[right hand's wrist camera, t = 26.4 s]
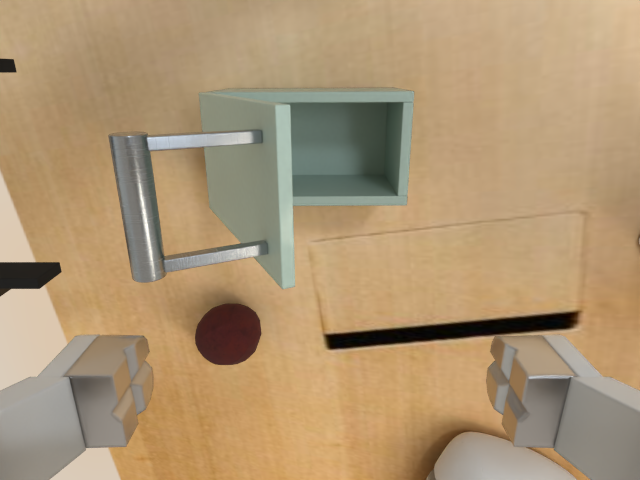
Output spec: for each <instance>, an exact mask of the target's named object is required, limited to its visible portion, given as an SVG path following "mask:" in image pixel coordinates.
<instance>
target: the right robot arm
mask: <svg viewBox="0 0 640 480" xmlns="http://www.w3.org/2000/svg"><path fill="white" fill-rule="evenodd" d="M639 244H640V238H639ZM149 352H150V351H149V346H148V341H147V339H146V338H145V337H144V336H133V335H79V336H75V337H74V338H73V339H72V340H71V341H70V343H69V344H68V345H67V346H66V347H65V348H64V349H63V350H62V351H61V352H60V353H59V354H58V355H57V356H56V357H55V358H54V360H52V362H51V363H50V364H49V365H48V366H47V367H46V368H45V369H44V370H43V371H42V372H41V373H40V374H39V375H38V376H37V377H29V378H26V379H24V380H22V381H20V382H18V383H16V384H14V385H11V386H9V387H7V388H5V389H3V390H1V391H0V480H49V479H51V478H52V477H53V476H54V475H56V474H57V473H58V472H59V471H61V470H62V469H63V468H64V467H66V466H67V465H68V464H69V463H71V462H72V461H73V460H74V459H75V458H77V457H78V456H79V455H80V454H82V453H83V452H84V451H85V450H86V448H101V447H126V446H127V444H128V442H129V440H130V438H131V437H132V435H133V433H134V431H135V429H136V427H137V425H138V419H137V415H138V414H139V413H141V412H142V411H144V410H145V409H146V408H147V406H148V404H149V402H150V400H151V395H152V391H153V370H152V367H151V366H150V365H149V364H148V363H147V362H146V361H145V359H146V357H147V355H148V354H149ZM490 352H491V354H492V355H493V357H494V359H495V361H494V362H493V363H492V364H491V365H490V366H489V367H488V370H487V379H486V382H487V392H488V396H489V399H490V402H491V404H492V406H493V408H494V409H495V410H496V411H498V412H499V413H501V414H502V415H503V419H502V425H503V427H504V429H505V431H506V433H507V435H508V437H509V438H510V440H511V442H512V444H513V446H514V447H538V448H554V450H555V451H556V452H557V453H559V454H560V455H561V456H562V457H563V458H565V459H566V460H567V461H568V462H570V463H571V464H572V465H573V466H575V467H576V468H577V469H578V470H580V471H581V472H582V473H583V474H584V475H586V476H587V477H588V478H589V479H591V480H640V391H639V390H637V389H635V388H633V387H631V386H629V385H626V384H624V383H622V382H620V381H618V380H616V379H614V378H611V377H603V376H602V375H601V374H600V373H599V372H598V371H597V370H596V369H595V368H594V367H593V366H592V365H591V364H590V363H589V361H588V360H587V359H586V358H585V357H584V356H583V355H582V354H581V353H580V352H579V351H578V350H577V349H576V348H575V347H574V346H573V345H572V343H571V342H570V341H569V340H568V339H567V338H566V337H564V336H562V335H560V334H558V335H534V336H495V337H494V339H493V341H492V345H491V351H490Z"/></svg>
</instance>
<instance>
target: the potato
mask: <svg viewBox="0 0 640 480" xmlns="http://www.w3.org/2000/svg"><path fill="white" fill-rule="evenodd" d="M260 336H261V327H260V320H259V318H258V316H257V314H256V312H254V311H253V310H252V309H250V308H249V307H247V306H244V305H241V304H223V305H220V306H217V307H214V308H212V309H211V310H210V311H209V312H207V313H206V314H205V315H204V317H203V318H202V319H201V321H200V322H199V324H198V326H197V330H196V335H195V341H196V346H197V348H198V350H199V352H200V353H201V354H202V356H203V357H204V358H206V359H207V360H208V361H210V362H212V363H214V364H218V365H233V364H238V363H241V362H243V361H245V360H246V359H248V358H249V357H250V356H251V355H252V354H253V353H254V352H255V350H256V348H257V345H258V342H259V339H260Z"/></svg>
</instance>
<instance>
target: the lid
mask: <svg viewBox="0 0 640 480" xmlns="http://www.w3.org/2000/svg"><path fill="white" fill-rule="evenodd" d="M199 101H200V112H201V122H202V132H194V133H177V134H159V135H148V134H147V133H146V132H119V133H112V134H109V142H110V148H111V154H112V160H113V166H114V172H115V178H116V184H117V189H118V195H119V201H120V207H121V213H122V219H123V225H124V231H125V237H126V243H127V249H128V255H129V261H130V267H131V273H132V278H133V280H134V281H137V282H153V281H157V280H159V279H162V278H163V277H165V276H166V274H167V272H172V271H177V270H183V269H188V268H194V267H200V266H205V265H211V264H216V263H222V262H228V261H233V260H239V259H244V258H250V257H254V258H255V259H256V260H257V261H258V263H259V264H260V265H261V266H262V267H263V268H264V269H265V270H266V271H267V273H268V274H269V275H270V276H271V277H272V278H273V279H274V280H275V282H276V283H277V284H278V285H279V286H280V287H281V288H282V289H286V288H291V287H295V264H294V227H293V190H292V153H291V116H290V105H289V104H283V103H276V102H269V101H262V100H256V99H249V98H242V97H235V96H229V95H222V94H215V93H208V92H203V93H199ZM203 147H204V154H205V164H206V175H207V185H208V196H209V206H210V209H211V210H212V211H213V212H214V213H215V214H216V216H217V217H218V218H219V219H220V220H221V221H222V222H223V223H224V224H225V226H226V227H227V228H228V229H229V230H230V231H231V232H232V233H233V235H234V236H235V237H236V238H237V239H238V240H239V241H240V242H241V243H242V244H236V245H230V246H223V247H217V248H211V249H205V250H199V251H193V252H187V253H181V254H175V255H169V256H164V249H163V242H162V235H161V227H160V220H159V213H158V206H157V198H156V191H155V184H154V177H153V169H152V162H151V155H150V151H161V150H175V149H189V148H203Z"/></svg>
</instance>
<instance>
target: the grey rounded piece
mask: <svg viewBox="0 0 640 480" xmlns="http://www.w3.org/2000/svg"><path fill="white" fill-rule="evenodd" d="M426 480H577V479H576V478H575V477H574V476H573V475H572V474H571V473H569V472H568V471H567V470H565V469H564V468H563V467H561V466H560V465H558V464H557V463H555V462H553V461H552V460H550V459H548V458H547V457H545V456H543V455H541V454H539V453H537V452H535V451H533V450H531V449H528V448H526V447H514V446H513V444H512V442H511V441H508V440H505V439H502V438H499V437H496V436H492V435H489V434H485V433H479V432H464V433H461V434H459V435H457V436H456V437H455V438H453V439H452V440H451V442H450V443H449V444H448V445H447V446H446V448H445V449H444V451H443V452H442V454H441V455H440V457H439V458H438V460H437V462H436V463H435V466H434V469H433V470H432V471H431V472H430V473H429V475H428V477H427V479H426Z"/></svg>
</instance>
